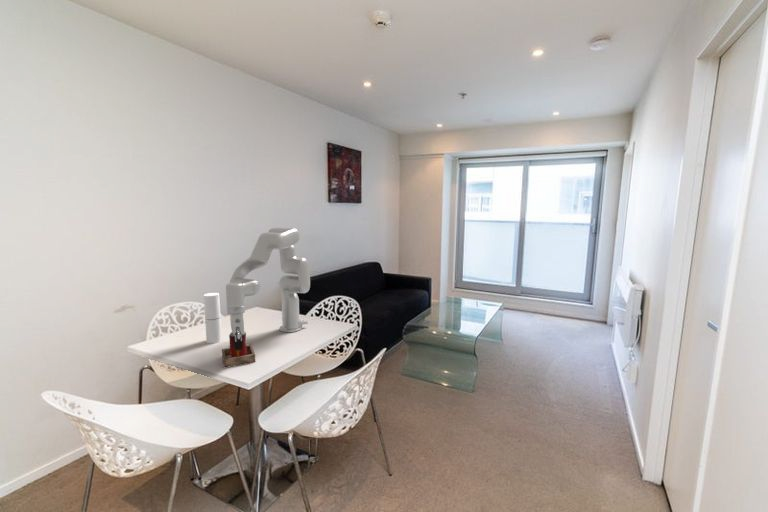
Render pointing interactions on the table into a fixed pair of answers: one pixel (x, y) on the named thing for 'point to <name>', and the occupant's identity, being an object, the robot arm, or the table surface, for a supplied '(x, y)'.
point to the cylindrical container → (212, 317)
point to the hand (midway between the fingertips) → (237, 345)
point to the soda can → (232, 346)
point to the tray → (238, 360)
